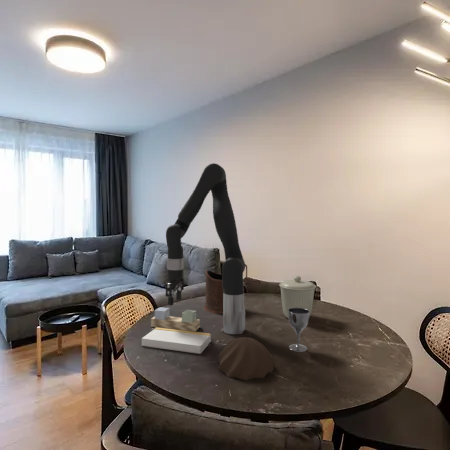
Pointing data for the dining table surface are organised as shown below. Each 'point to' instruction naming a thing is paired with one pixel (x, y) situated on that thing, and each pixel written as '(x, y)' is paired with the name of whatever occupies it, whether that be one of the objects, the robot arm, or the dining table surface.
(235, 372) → the decorative dome
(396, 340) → the dining table surface
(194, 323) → the pallet
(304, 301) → the canister
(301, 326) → the wine glass
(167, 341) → the dock
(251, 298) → the dining table surface
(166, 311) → the block
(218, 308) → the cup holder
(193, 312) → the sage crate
